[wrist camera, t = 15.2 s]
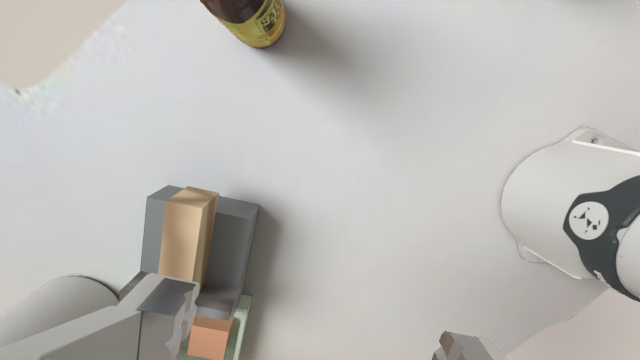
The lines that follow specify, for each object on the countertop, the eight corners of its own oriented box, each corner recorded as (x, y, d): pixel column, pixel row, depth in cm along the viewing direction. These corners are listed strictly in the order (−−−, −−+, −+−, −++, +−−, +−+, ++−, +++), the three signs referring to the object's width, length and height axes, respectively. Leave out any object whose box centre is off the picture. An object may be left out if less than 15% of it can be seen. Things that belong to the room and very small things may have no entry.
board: (259, 204, 39) (251, 219, 34) (242, 293, 43) (232, 318, 38) (168, 185, 38) (146, 197, 33) (158, 277, 42) (137, 300, 37)
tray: (252, 295, 43) (247, 309, 40) (239, 355, 46) (234, 373, 43) (147, 275, 42) (134, 288, 39) (141, 338, 44) (128, 354, 42)
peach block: (222, 361, 41) (229, 344, 44) (228, 332, 40) (234, 316, 43) (187, 354, 41) (195, 337, 44) (191, 325, 40) (200, 310, 43)
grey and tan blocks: (255, 201, 34) (245, 217, 29) (237, 298, 37) (225, 327, 32) (149, 177, 33) (120, 191, 28) (139, 279, 36) (112, 306, 31)
